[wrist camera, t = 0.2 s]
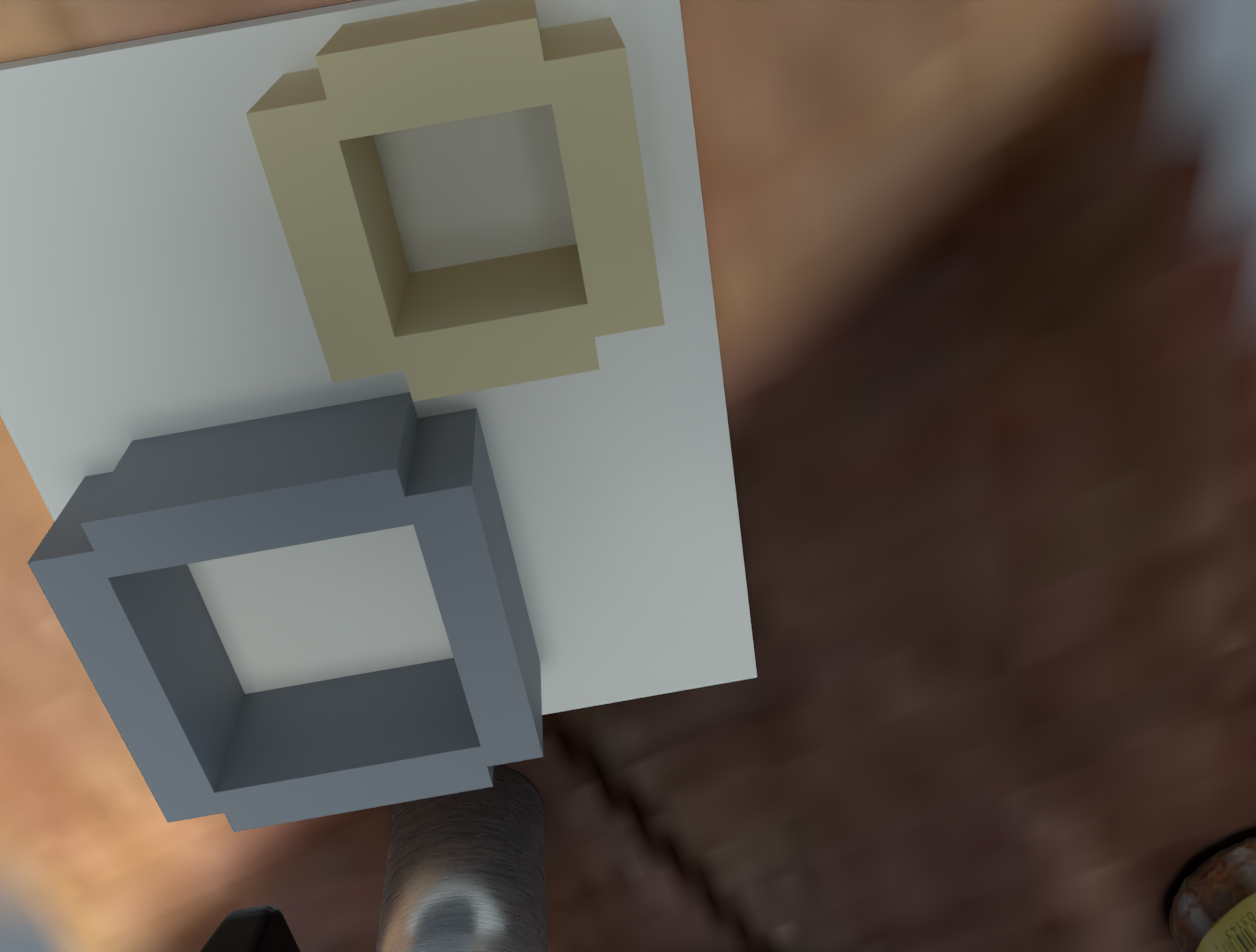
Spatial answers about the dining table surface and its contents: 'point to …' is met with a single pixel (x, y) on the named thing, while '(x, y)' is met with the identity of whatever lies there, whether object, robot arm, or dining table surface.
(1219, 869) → the sauce bottle
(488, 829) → the metal cylinder
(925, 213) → the dining table surface
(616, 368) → the fitting plate
